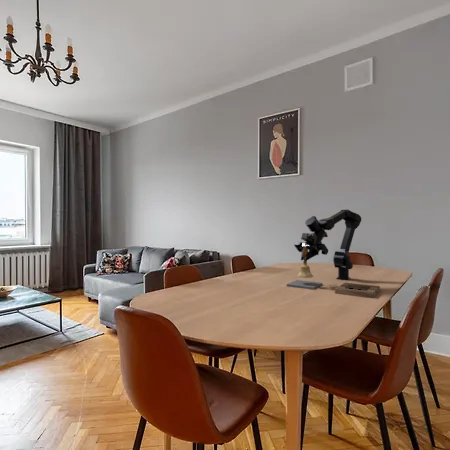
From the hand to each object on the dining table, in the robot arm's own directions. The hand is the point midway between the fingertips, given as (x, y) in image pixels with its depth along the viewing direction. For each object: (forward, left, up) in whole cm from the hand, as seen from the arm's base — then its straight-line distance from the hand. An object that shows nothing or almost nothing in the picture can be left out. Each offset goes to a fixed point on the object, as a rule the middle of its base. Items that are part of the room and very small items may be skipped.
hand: (303, 260), depth 161 cm
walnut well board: (-1, +26, -13) cm, 29 cm away
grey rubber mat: (-1, 0, -13) cm, 13 cm away
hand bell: (-1, 0, -9) cm, 9 cm away
